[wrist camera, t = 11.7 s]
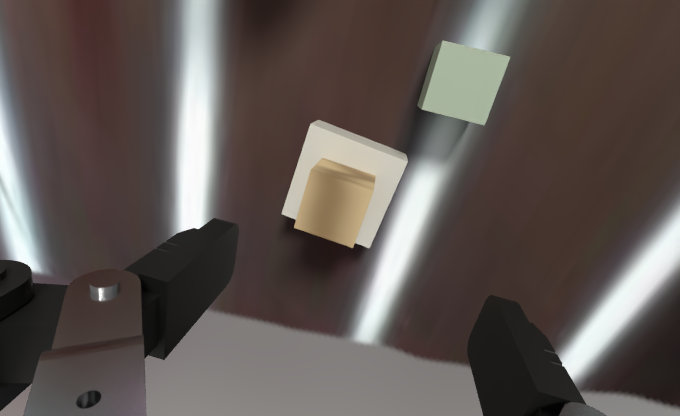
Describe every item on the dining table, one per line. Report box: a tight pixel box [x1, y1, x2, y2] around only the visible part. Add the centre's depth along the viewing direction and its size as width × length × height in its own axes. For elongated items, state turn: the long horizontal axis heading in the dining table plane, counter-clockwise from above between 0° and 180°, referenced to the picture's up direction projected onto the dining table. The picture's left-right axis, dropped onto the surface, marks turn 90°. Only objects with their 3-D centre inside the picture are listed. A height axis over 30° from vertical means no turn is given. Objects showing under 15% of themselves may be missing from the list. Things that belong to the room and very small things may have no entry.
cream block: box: [282, 120, 408, 248], centre depth 34 cm, size 9×9×4 cm
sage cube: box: [417, 41, 510, 125], centre depth 29 cm, size 5×5×5 cm
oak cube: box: [294, 158, 376, 248], centre depth 29 cm, size 5×5×5 cm
